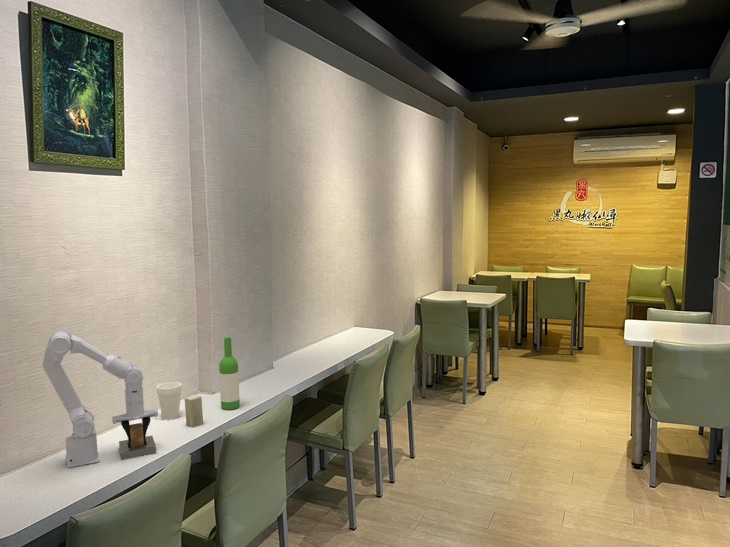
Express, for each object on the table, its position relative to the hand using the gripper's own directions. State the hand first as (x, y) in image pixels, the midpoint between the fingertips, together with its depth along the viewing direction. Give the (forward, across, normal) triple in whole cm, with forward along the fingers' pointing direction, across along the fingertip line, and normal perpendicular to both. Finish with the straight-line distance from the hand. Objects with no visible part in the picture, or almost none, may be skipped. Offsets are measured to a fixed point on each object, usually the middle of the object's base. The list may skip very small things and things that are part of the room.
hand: (136, 439), depth 194 cm
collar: (+4, 0, 0) cm, 4 cm away
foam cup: (+4, +15, +30) cm, 34 cm away
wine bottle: (+4, +39, +29) cm, 49 cm away
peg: (+3, 0, 0) cm, 3 cm away
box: (+4, +22, +16) cm, 28 cm away
